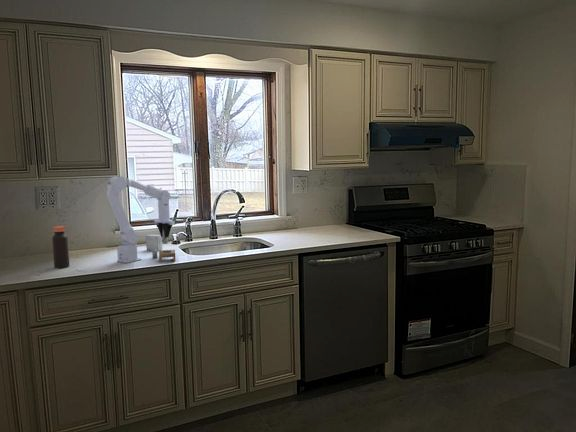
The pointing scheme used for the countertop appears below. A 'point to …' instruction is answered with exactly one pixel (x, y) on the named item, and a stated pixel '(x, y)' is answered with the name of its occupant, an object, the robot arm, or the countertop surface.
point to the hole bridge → (166, 254)
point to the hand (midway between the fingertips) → (164, 237)
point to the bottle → (60, 248)
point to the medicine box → (154, 242)
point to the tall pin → (164, 237)
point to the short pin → (154, 254)
